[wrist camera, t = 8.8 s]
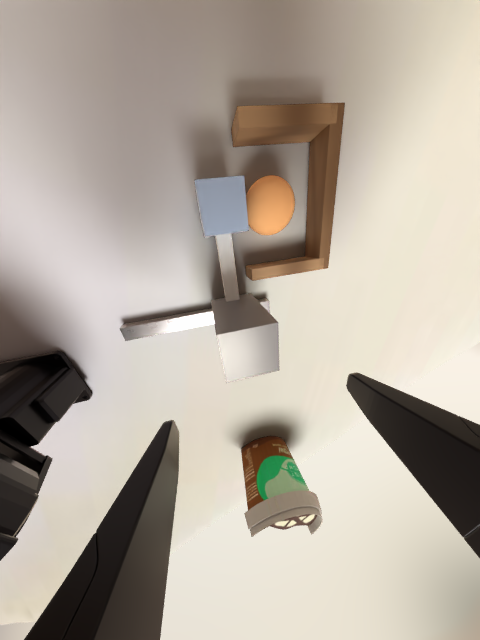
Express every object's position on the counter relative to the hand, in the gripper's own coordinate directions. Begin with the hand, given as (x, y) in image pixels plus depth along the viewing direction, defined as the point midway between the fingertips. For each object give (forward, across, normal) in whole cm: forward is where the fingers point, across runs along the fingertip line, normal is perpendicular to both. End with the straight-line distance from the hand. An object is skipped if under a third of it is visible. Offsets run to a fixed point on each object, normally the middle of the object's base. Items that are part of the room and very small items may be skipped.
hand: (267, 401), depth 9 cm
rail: (+12, +3, 0) cm, 12 cm away
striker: (+12, 0, -4) cm, 12 cm away
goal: (+12, -6, -9) cm, 16 cm away
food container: (+12, -4, +27) cm, 30 cm away
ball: (+10, -4, -9) cm, 14 cm away
